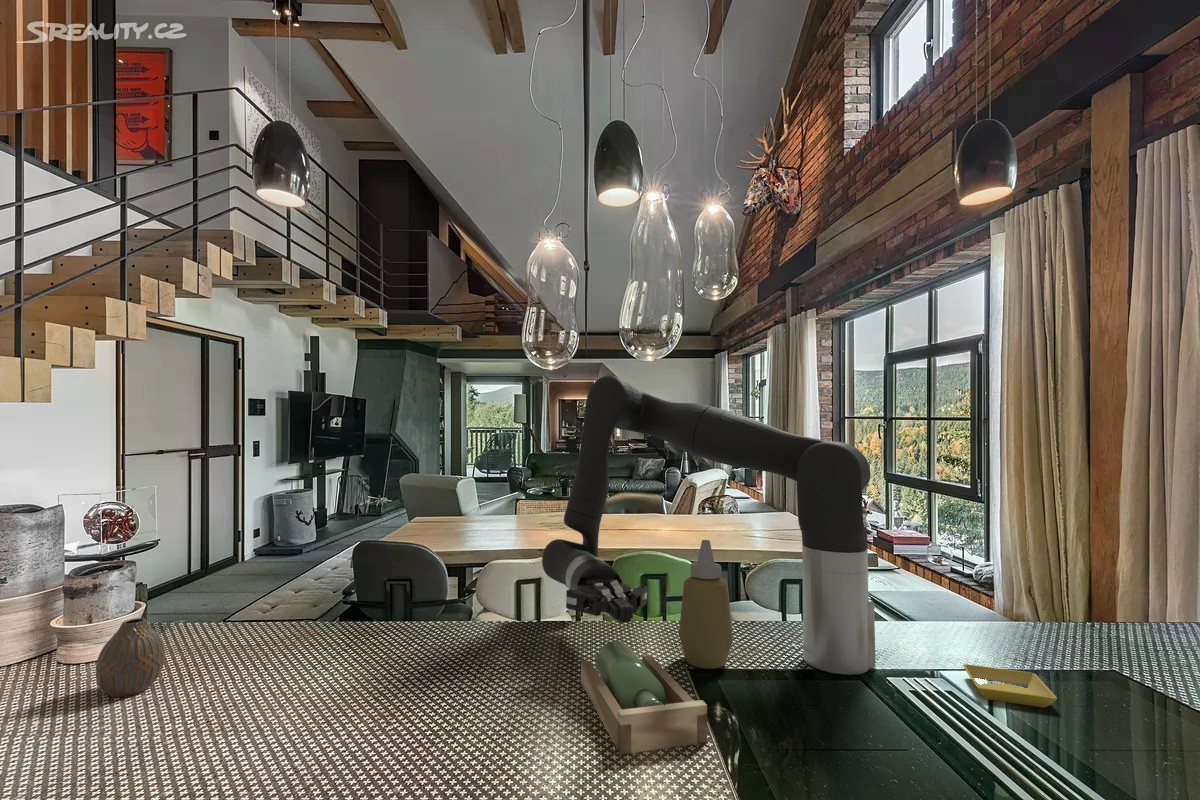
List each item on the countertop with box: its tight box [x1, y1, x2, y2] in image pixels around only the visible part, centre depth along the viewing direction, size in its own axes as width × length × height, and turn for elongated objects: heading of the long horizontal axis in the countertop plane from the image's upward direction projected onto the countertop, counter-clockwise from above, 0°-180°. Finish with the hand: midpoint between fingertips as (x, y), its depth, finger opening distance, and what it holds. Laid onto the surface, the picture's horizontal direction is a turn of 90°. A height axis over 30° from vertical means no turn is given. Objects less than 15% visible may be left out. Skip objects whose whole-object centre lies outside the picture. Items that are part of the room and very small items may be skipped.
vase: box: [95, 617, 166, 698], centre depth 73 cm, size 7×7×9 cm
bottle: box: [595, 640, 665, 710], centre depth 71 cm, size 5×5×16 cm
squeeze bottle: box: [678, 539, 734, 670], centre depth 85 cm, size 8×8×18 cm
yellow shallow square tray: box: [962, 663, 1058, 709], centre depth 76 cm, size 9×9×2 cm
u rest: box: [580, 654, 708, 755], centre depth 70 cm, size 10×18×4 cm, turn 16°
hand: (625, 614), depth 75 cm, fingers closed
